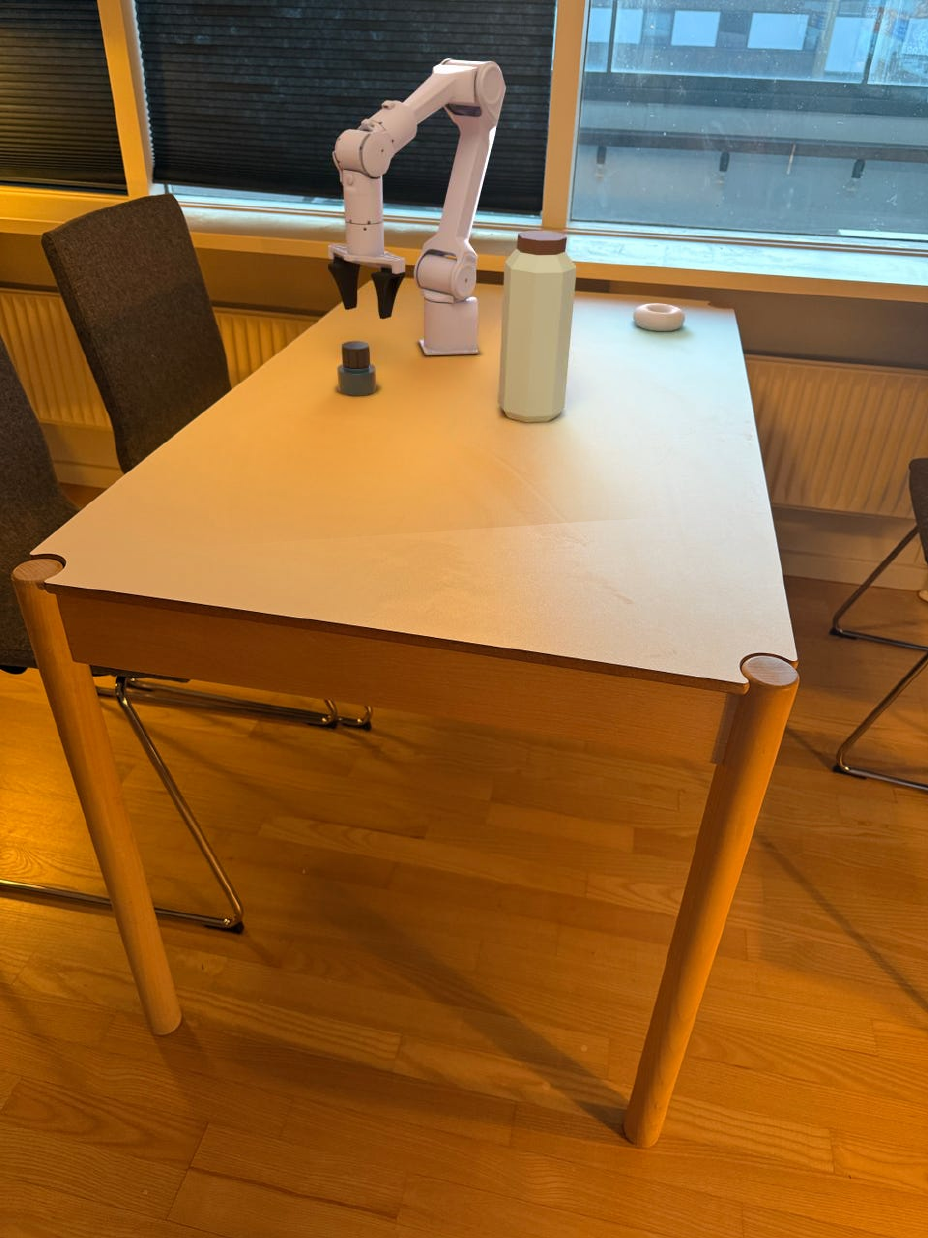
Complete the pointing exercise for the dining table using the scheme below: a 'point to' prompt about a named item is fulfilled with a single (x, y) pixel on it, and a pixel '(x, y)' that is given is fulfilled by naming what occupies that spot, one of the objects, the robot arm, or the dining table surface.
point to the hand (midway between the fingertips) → (367, 312)
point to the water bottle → (536, 327)
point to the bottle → (356, 380)
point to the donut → (659, 317)
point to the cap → (355, 354)
